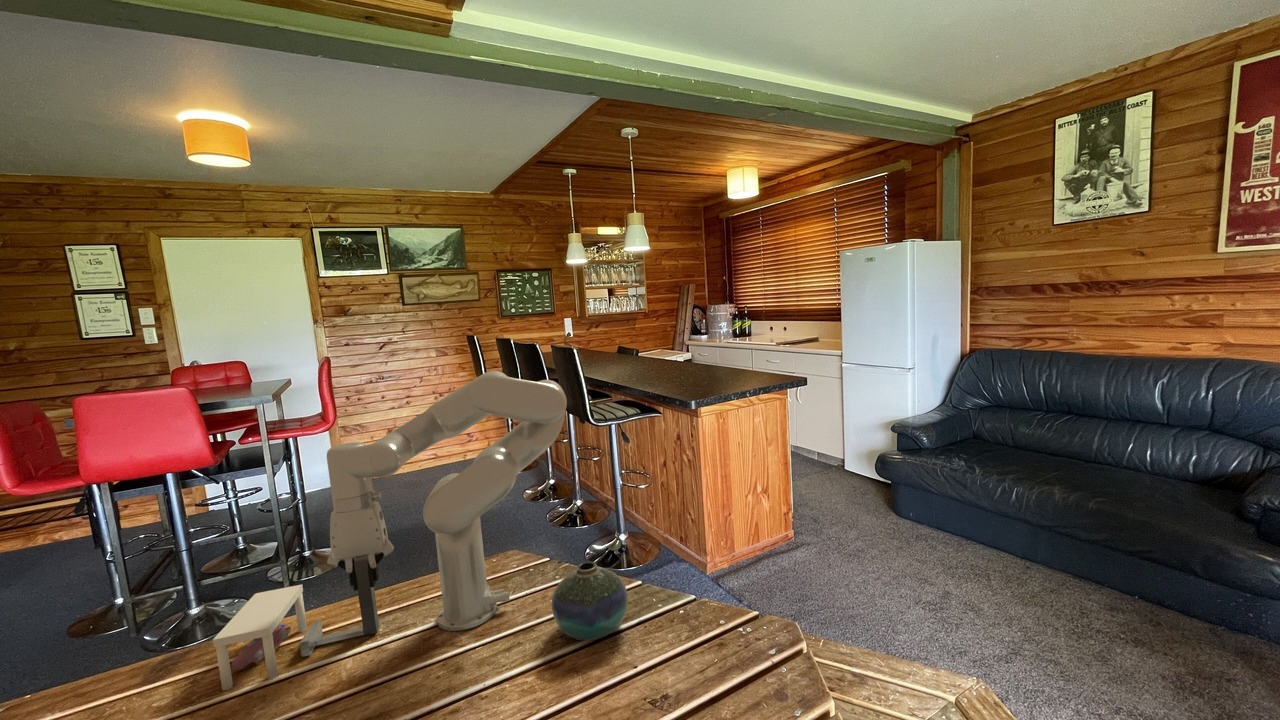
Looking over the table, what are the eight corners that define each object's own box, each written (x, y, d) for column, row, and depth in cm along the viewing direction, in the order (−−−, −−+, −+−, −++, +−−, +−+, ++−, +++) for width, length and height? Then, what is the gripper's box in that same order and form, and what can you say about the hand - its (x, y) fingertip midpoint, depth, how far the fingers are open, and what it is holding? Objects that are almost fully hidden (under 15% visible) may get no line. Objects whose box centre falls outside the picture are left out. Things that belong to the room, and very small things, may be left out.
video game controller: (245, 680, 101) (254, 650, 100) (227, 669, 102) (235, 640, 101) (289, 649, 111) (297, 621, 110) (271, 639, 111) (280, 611, 110)
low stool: (308, 627, 116) (302, 584, 115) (276, 678, 98) (269, 627, 98) (261, 637, 113) (255, 593, 113) (220, 691, 96) (212, 639, 95)
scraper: (381, 619, 115) (372, 550, 114) (374, 640, 108) (363, 565, 106) (314, 635, 112) (304, 563, 110) (301, 657, 104) (290, 580, 103)
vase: (595, 663, 95) (588, 593, 94) (538, 637, 104) (532, 574, 103) (645, 620, 107) (639, 558, 106) (590, 601, 116) (585, 544, 115)
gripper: (398, 490, 115) (409, 570, 116) (316, 503, 110) (328, 586, 112) (392, 500, 108) (403, 585, 109) (304, 515, 103) (317, 603, 105)
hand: (365, 585), depth 110 cm, fingers closed on scraper, 2 cm apart
